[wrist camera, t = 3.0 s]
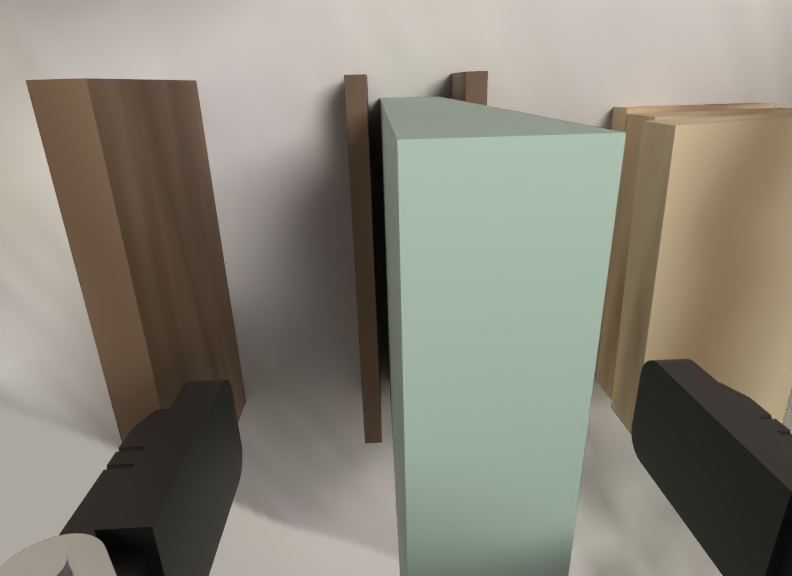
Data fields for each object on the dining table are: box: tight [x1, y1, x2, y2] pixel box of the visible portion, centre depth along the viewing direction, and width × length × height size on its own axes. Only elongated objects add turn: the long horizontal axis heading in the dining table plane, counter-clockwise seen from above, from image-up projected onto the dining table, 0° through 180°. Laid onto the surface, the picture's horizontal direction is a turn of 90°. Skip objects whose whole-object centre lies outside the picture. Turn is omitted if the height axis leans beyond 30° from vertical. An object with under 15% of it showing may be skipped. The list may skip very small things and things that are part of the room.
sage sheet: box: [380, 96, 626, 576], centre depth 13 cm, size 2×11×14 cm, turn 2°
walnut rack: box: [26, 71, 488, 443], centre depth 16 cm, size 10×12×7 cm
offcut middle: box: [595, 108, 792, 400], centre depth 18 cm, size 5×10×2 cm, turn 2°
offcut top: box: [611, 112, 792, 435], centre depth 16 cm, size 5×10×2 cm, turn 3°
